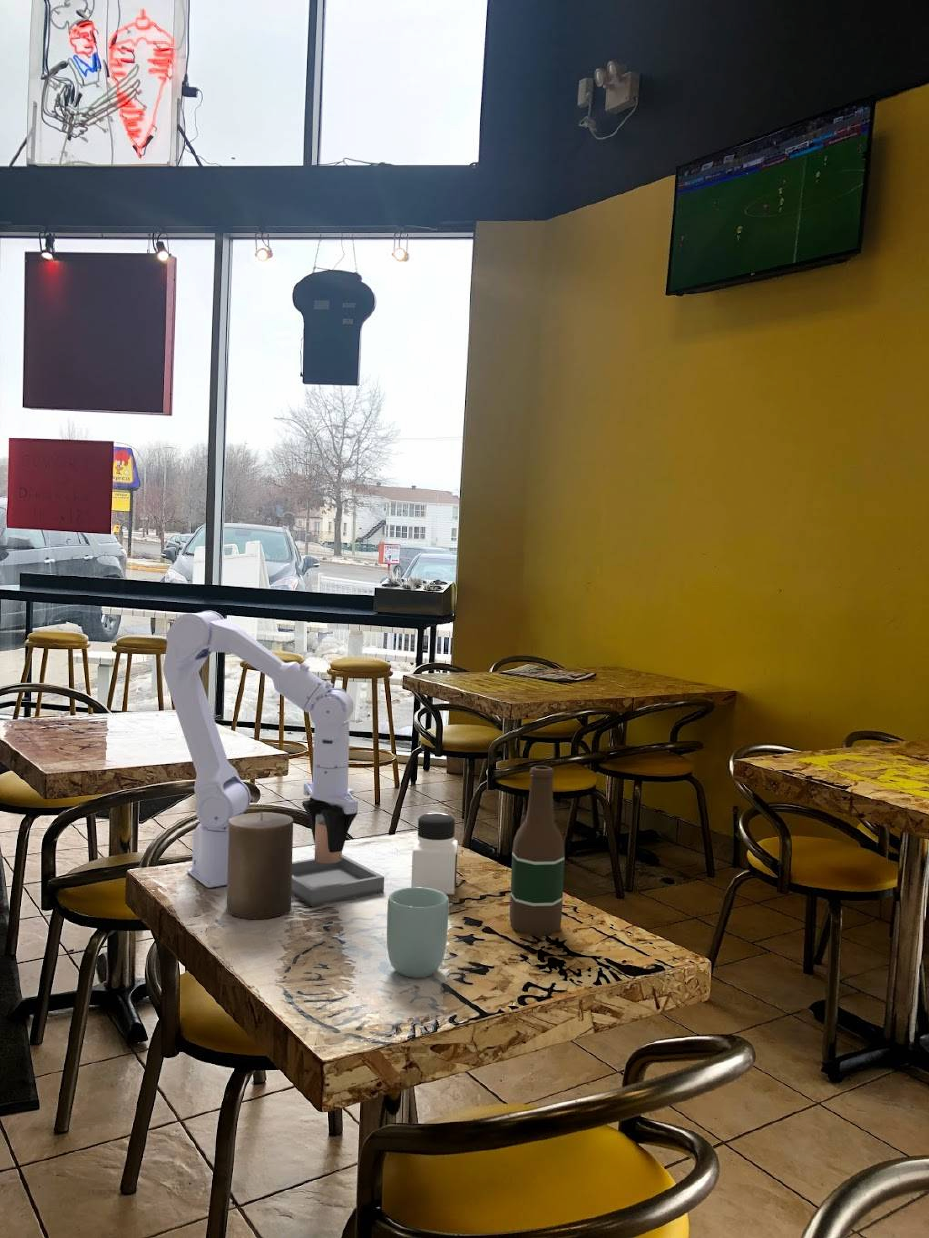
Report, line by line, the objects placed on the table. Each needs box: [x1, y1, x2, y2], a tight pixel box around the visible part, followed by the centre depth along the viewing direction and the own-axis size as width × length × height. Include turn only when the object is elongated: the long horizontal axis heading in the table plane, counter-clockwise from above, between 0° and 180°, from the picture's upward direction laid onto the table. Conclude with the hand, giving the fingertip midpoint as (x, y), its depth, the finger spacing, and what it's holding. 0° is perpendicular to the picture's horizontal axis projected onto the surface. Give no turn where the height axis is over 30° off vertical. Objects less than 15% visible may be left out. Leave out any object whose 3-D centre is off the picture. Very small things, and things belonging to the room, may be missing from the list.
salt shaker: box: [313, 811, 343, 863], centre depth 161 cm, size 4×4×8 cm
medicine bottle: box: [410, 812, 459, 896], centre depth 163 cm, size 7×7×12 cm
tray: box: [291, 854, 385, 907], centre depth 162 cm, size 14×13×2 cm
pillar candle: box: [226, 811, 294, 920], centre depth 151 cm, size 10×10×15 cm
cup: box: [386, 886, 450, 979], centre depth 130 cm, size 8×8×10 cm
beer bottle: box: [509, 765, 566, 937], centre depth 147 cm, size 8×8×24 cm
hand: (328, 847), depth 162 cm, fingers closed on salt shaker, 4 cm apart
